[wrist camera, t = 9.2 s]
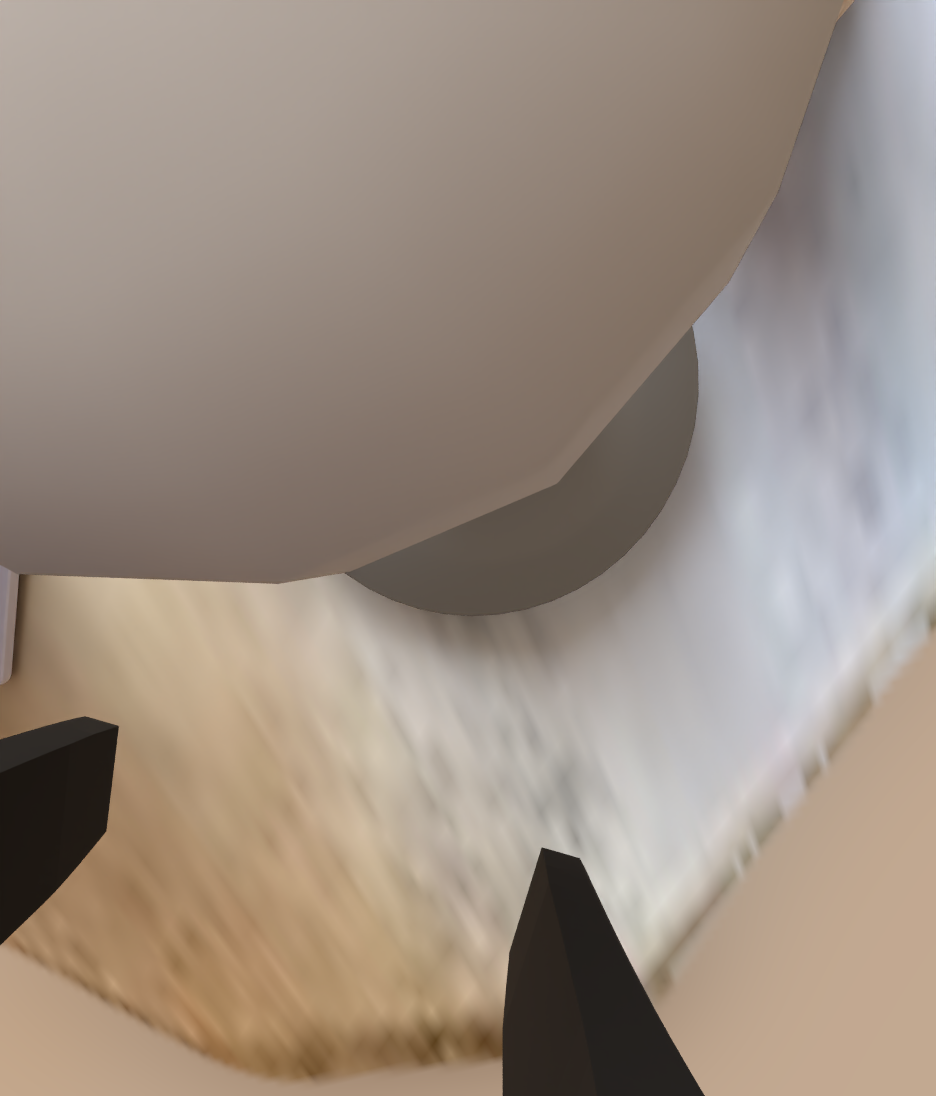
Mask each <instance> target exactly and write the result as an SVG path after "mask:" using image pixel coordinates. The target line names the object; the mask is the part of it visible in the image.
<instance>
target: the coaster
mask: <svg viewBox="0 0 936 1096" xmlns="http://www.w3.org/2000/svg"><path fill="white" fill-rule="evenodd" d="M697 402H698V359H697V353H696V346H695V339H694V333H693V328H692V326H691V327H690V328H689V330H688V331H687V332H686V333H685V334H684V335H683V337H682V338H681V339H680V340H679V341H678V343H677V344H676V345H675V346H674V347H673V348H672V350H671V351H670V352H669V353H668V354H667V355H666V357H665V358H664V359H663V360H662V361H661V362H660V364H659V365H658V366H657V367H656V368H655V369H654V371H653V372H652V373H651V374H650V375H649V376H648V378H647V379H646V380H645V381H644V382H643V384H642V385H641V386H640V387H639V388H638V389H637V391H636V392H635V393H634V394H633V395H632V396H631V398H630V399H629V400H628V401H627V402H626V403H625V405H624V406H623V407H622V408H621V409H620V410H619V412H618V413H617V414H616V415H615V416H614V417H613V419H612V420H611V421H610V422H609V423H608V425H607V426H606V427H605V428H604V429H603V430H602V432H601V433H600V434H599V435H598V436H597V437H596V439H595V440H594V441H593V442H592V443H591V444H590V446H589V447H588V448H587V449H586V450H585V451H584V453H583V454H582V455H581V456H580V457H579V458H578V460H577V461H576V462H575V463H574V464H573V466H572V467H571V468H570V469H569V470H568V471H567V473H566V474H565V475H564V476H563V477H562V478H561V480H560V481H559V482H558V483H557V484H555V485H553V486H551V487H548V488H546V489H543V490H541V491H539V492H536V493H534V494H532V495H529V496H527V497H525V498H522V499H520V500H518V501H515V502H513V503H511V504H508V505H506V506H503V507H501V508H499V509H496V510H494V511H492V512H489V513H487V514H485V515H482V516H480V517H478V518H475V519H473V520H470V521H468V522H466V523H463V524H461V525H459V526H456V527H454V528H452V529H449V530H447V531H445V532H442V533H440V534H438V535H435V536H433V537H430V538H428V539H426V540H423V541H421V542H419V543H416V544H414V545H412V546H409V547H407V548H405V549H402V550H400V551H398V552H395V553H393V554H390V555H388V556H386V557H383V558H381V559H379V560H376V561H374V562H372V563H369V564H367V565H365V566H362V567H360V568H358V569H355V570H353V571H350V572H345V574H347V575H348V576H350V577H352V578H353V579H355V580H356V581H358V582H359V583H361V584H362V585H364V586H365V587H367V588H369V589H371V590H373V591H375V592H377V593H379V594H381V595H383V596H385V597H387V598H389V599H392V600H394V601H397V602H400V603H403V604H406V605H409V606H412V607H415V608H418V609H423V610H428V611H433V612H438V613H443V614H453V615H467V616H478V615H496V614H503V613H509V612H514V611H520V610H525V609H529V608H532V607H535V606H538V605H541V604H544V603H547V602H551V601H553V600H555V599H557V598H560V597H562V596H564V595H566V594H568V593H570V592H573V591H575V590H577V589H579V588H580V587H582V586H583V585H585V584H587V583H588V582H590V581H591V580H593V579H595V578H596V577H598V576H599V575H601V574H602V573H603V572H605V571H606V570H607V569H608V568H610V567H611V566H612V565H613V564H614V563H616V562H617V561H618V560H619V559H621V558H622V557H623V556H624V555H625V554H626V553H627V552H628V551H629V550H630V549H631V548H632V547H633V546H634V544H635V543H636V542H637V541H638V540H639V539H640V538H641V537H642V536H643V535H644V534H645V532H646V531H647V530H648V528H649V527H650V525H651V524H652V523H653V521H654V520H655V519H656V517H657V516H658V514H659V513H660V512H661V510H662V508H663V507H664V505H665V503H666V501H667V499H668V498H669V496H670V494H671V492H672V490H673V488H674V487H675V485H676V483H677V480H678V477H679V475H680V472H681V470H682V467H683V465H684V462H685V460H686V457H687V454H688V450H689V446H690V442H691V438H692V434H693V430H694V426H695V419H696V410H697Z"/></svg>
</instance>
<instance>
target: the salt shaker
mask: <svg viewBox="0 0 936 1096" xmlns="http://www.w3.org/2000/svg"><path fill="white" fill-rule="evenodd" d="M843 1H844V0H0V565H1V566H3V567H5V568H7V569H8V570H10V571H12V572H14V573H16V574H30V575H57V576H84V577H110V578H137V579H164V580H191V581H218V582H245V583H272V584H279V583H285V582H291V581H297V580H303V579H309V578H315V577H321V576H327V575H333V574H339V573H345V572H350V571H353V570H355V569H358V568H360V567H362V566H365V565H367V564H369V563H372V562H374V561H376V560H379V559H381V558H383V557H386V556H388V555H390V554H393V553H395V552H398V551H400V550H402V549H405V548H407V547H409V546H412V545H414V544H416V543H419V542H421V541H423V540H426V539H428V538H430V537H433V536H435V535H438V534H440V533H442V532H445V531H447V530H449V529H452V528H454V527H456V526H459V525H461V524H463V523H466V522H468V521H470V520H473V519H475V518H478V517H480V516H482V515H485V514H487V513H489V512H492V511H494V510H496V509H499V508H501V507H503V506H506V505H508V504H511V503H513V502H515V501H518V500H520V499H522V498H525V497H527V496H529V495H532V494H534V493H536V492H539V491H541V490H543V489H546V488H548V487H551V486H553V485H555V484H557V483H558V482H559V481H560V480H561V478H562V477H563V476H564V475H565V474H566V473H567V471H568V470H569V469H570V468H571V467H572V466H573V464H574V463H575V462H576V461H577V460H578V458H579V457H580V456H581V455H582V454H583V453H584V451H585V450H586V449H587V448H588V447H589V446H590V444H591V443H592V442H593V441H594V440H595V439H596V437H597V436H598V435H599V434H600V433H601V432H602V430H603V429H604V428H605V427H606V426H607V425H608V423H609V422H610V421H611V420H612V419H613V417H614V416H615V415H616V414H617V413H618V412H619V410H620V409H621V408H622V407H623V406H624V405H625V403H626V402H627V401H628V400H629V399H630V398H631V396H632V395H633V394H634V393H635V392H636V391H637V389H638V388H639V387H640V386H641V385H642V384H643V382H644V381H645V380H646V379H647V378H648V376H649V375H650V374H651V373H652V372H653V371H654V369H655V368H656V367H657V366H658V365H659V364H660V362H661V361H662V360H663V359H664V358H665V357H666V355H667V354H668V353H669V352H670V351H671V350H672V348H673V347H674V346H675V345H676V344H677V343H678V341H679V340H680V339H681V338H682V337H683V335H684V334H685V333H686V332H687V331H688V330H689V328H690V327H691V326H692V325H693V324H694V323H695V321H696V320H697V319H698V318H699V317H700V316H701V314H702V313H703V312H704V311H705V310H706V309H707V307H708V306H709V305H710V304H711V303H712V302H713V300H714V299H715V298H716V297H717V296H718V295H719V293H720V292H721V291H722V290H723V289H724V287H725V286H726V285H727V284H728V283H729V281H730V279H731V277H732V275H733V274H734V272H735V270H736V268H737V266H738V265H739V263H740V261H741V259H742V257H743V255H744V254H745V252H746V250H747V248H748V246H749V244H750V243H751V241H752V239H753V237H754V235H755V233H756V232H757V230H758V228H759V226H760V224H761V222H762V221H763V219H764V217H765V215H766V213H767V211H768V210H769V208H770V206H771V204H772V202H773V200H774V199H775V197H776V195H777V193H778V191H779V188H780V185H781V182H782V179H783V176H784V173H785V170H786V168H787V165H788V162H789V159H790V156H791V153H792V150H793V147H794V144H795V141H796V138H797V135H798V132H799V129H800V127H801V124H802V121H803V118H804V115H805V112H806V109H807V106H808V103H809V100H810V97H811V94H812V91H813V88H814V86H815V83H816V80H817V77H818V74H819V71H820V68H821V65H822V62H823V59H824V56H825V53H826V50H827V47H828V45H829V42H830V39H831V36H832V33H833V30H834V27H835V24H836V21H837V18H838V15H839V12H840V9H841V6H842V4H843Z"/></svg>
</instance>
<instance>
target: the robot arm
mask: <svg viewBox="0 0 936 1096" xmlns="http://www.w3.org/2000/svg"><path fill="white" fill-rule="evenodd" d="M18 582H19V574H16V573H14V572H12V571H10V570H8V569H7V568H5V567H3V566H1V565H0V685H2V684H4V683H6V682H7V681H8V680H9V679H10V677H11V673H12V660H13V647H14V634H15V621H16V608H17V595H18ZM118 728H119V726H117V725H113V724H110V723H106V722H103V721H99V720H96V719H92V718H89V717H85V716H84V717H80V718H76V719H71V720H67V721H63V722H59V723H56V724H52V725H48V726H45V727H41V728H38V729H34V730H31V731H28V732H24V733H21V734H17V735H14V736H11V737H7V738H4V739H1V740H0V945H1V944H2V943H3V942H4V941H5V940H6V939H7V938H8V937H9V936H10V935H11V934H12V933H13V932H14V931H15V930H16V929H17V928H19V927H20V926H21V925H22V924H23V923H24V922H25V921H26V920H27V919H28V918H29V917H30V916H31V915H32V914H33V913H34V912H35V911H36V910H37V909H38V908H39V907H40V906H41V905H42V904H43V903H44V902H45V901H46V900H47V899H48V898H49V897H50V896H51V895H52V894H53V893H54V892H55V891H56V890H57V889H58V888H59V887H60V886H61V885H62V883H63V882H64V881H65V880H66V879H67V878H68V876H69V875H70V874H71V873H72V872H73V871H74V870H75V868H76V867H77V866H78V865H79V864H80V863H81V861H82V860H83V859H84V858H85V857H86V855H87V854H88V853H89V852H90V850H91V849H92V848H93V847H94V846H95V844H96V843H97V842H98V841H99V839H100V838H101V837H102V836H103V835H104V833H105V832H106V829H107V820H108V812H109V804H110V795H111V787H112V778H113V770H114V762H115V753H116V745H117V737H118ZM503 1096H705V1095H704V1094H703V1092H702V1091H701V1089H700V1087H699V1086H698V1084H697V1082H696V1081H695V1079H694V1077H693V1076H692V1074H691V1072H690V1070H689V1069H688V1067H687V1065H686V1063H685V1062H684V1060H683V1058H682V1057H681V1055H680V1053H679V1051H678V1050H677V1048H676V1046H675V1045H674V1043H673V1041H672V1039H671V1038H670V1036H669V1034H668V1032H667V1030H666V1029H665V1027H664V1025H663V1023H662V1022H661V1020H660V1018H659V1016H658V1014H657V1012H656V1010H655V1009H654V1007H653V1005H652V1003H651V1001H650V999H649V997H648V995H647V994H646V992H645V990H644V988H643V986H642V984H641V982H640V980H639V978H638V976H637V974H636V973H635V971H634V969H633V967H632V965H631V963H630V961H629V959H628V957H627V955H626V953H625V951H624V949H623V947H622V945H621V943H620V941H619V939H618V937H617V935H616V933H615V931H614V929H613V927H612V925H611V923H610V921H609V919H608V917H607V914H606V912H605V910H604V908H603V906H602V904H601V902H600V900H599V897H598V895H597V893H596V891H595V889H594V887H593V885H592V882H591V880H590V878H589V876H588V874H587V872H586V870H585V867H584V865H583V864H582V862H581V860H580V858H577V857H573V856H570V855H566V854H563V853H559V852H556V851H552V850H549V849H545V848H541V852H540V855H539V858H538V861H537V865H536V868H535V871H534V874H533V878H532V881H531V884H530V887H529V891H528V894H527V897H526V900H525V904H524V907H523V910H522V913H521V917H520V920H519V923H518V926H517V930H516V933H515V936H514V939H513V943H512V946H511V949H510V953H509V964H508V974H507V985H506V995H505V1007H504V1019H503Z"/></svg>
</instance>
